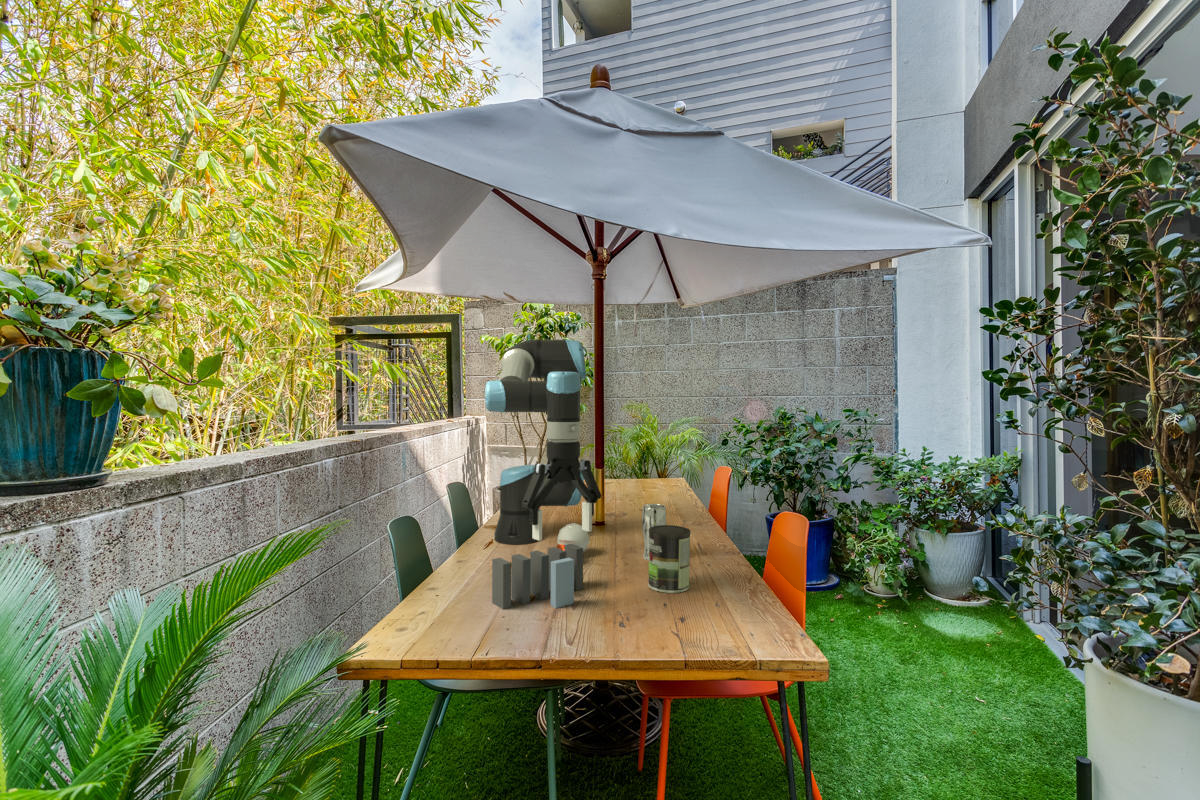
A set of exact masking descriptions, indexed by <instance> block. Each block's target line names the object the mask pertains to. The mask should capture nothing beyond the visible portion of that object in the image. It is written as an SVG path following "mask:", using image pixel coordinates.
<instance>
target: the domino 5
mask: <svg viewBox="0 0 1200 800" xmlns="http://www.w3.org/2000/svg"><path fill="white" fill-rule="evenodd" d="M574 601H575V590H574V560H573V559H571V558H565V559H561V560H556V561H551V591H550V607H552V608H554V609H559V608H562V607H566V605H567V606H570V605H573V603H575V602H574Z"/></svg>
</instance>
